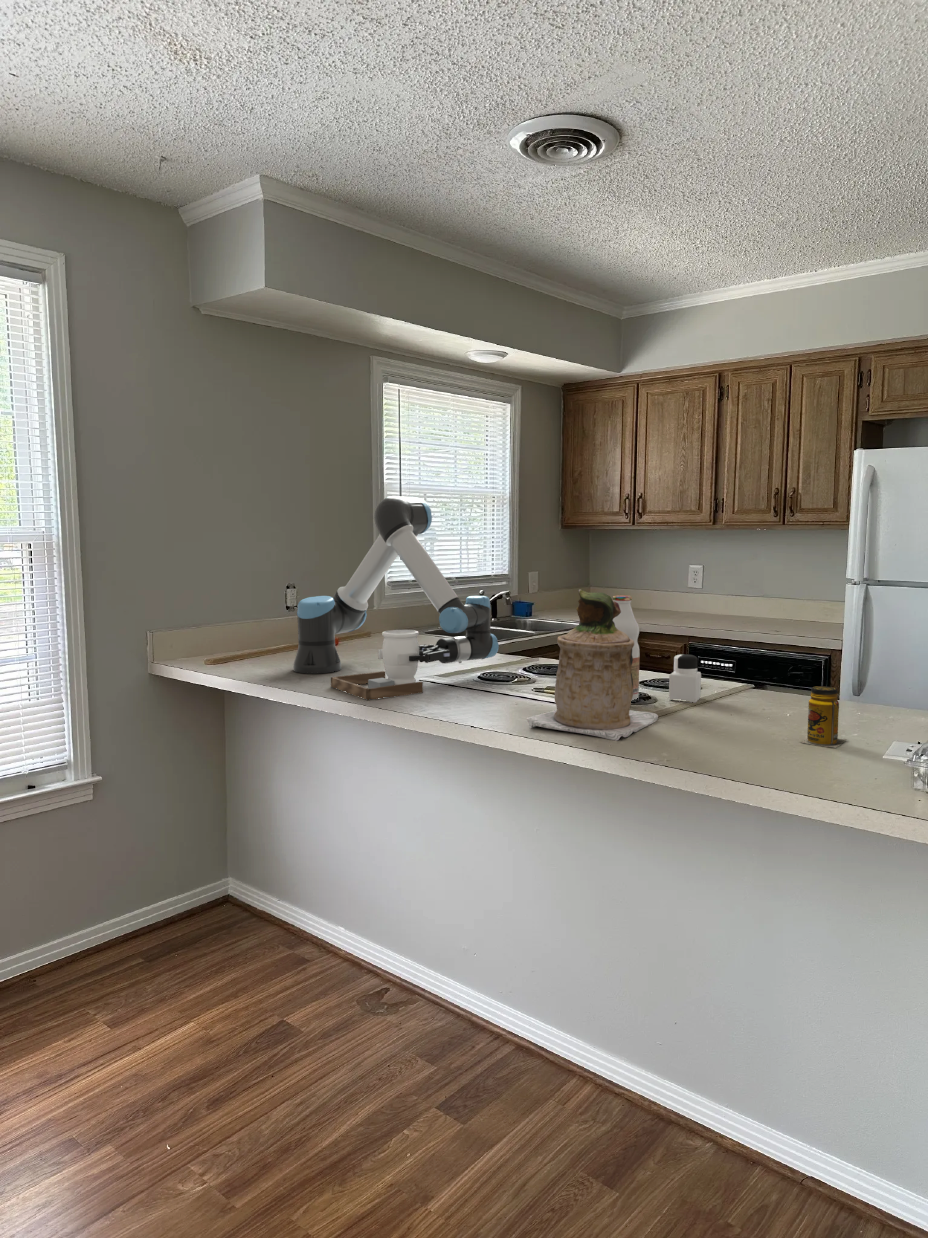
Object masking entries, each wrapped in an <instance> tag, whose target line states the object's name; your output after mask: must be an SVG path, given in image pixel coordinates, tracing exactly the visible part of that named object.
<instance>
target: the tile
mask: <svg viewBox="0 0 928 1238" xmlns="http://www.w3.org/2000/svg"><path fill="white" fill-rule="evenodd" d="M391 685H395V682H394V680H390V679H388V678H386V677H385V678H377V679H370V680H368V684H367V686H368V687H367V688H376V687H384V686H391Z"/></svg>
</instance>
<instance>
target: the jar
mask: <svg viewBox="0 0 928 1238" xmlns="http://www.w3.org/2000/svg"><path fill="white" fill-rule="evenodd" d="M419 634H420V633H419V631H418V630H414V629H391V630H390V629H389V630H385V631H382V633H381V635H382V637H383V641H382V648H381V649H382V656H383V659H382V662H383V666H384V668H383V669H384V671H385V675H386V676H387V679H390V680H394V682H395V685H399V684H407V683H414V682H417V680H416V678H415V676H416V673H417V672H418V666H419V665H418V663H419V661H418V662H415V663H407V664H397V655H398V654H407V653H416V652H417V653H418V655H419V641H418V636H419Z"/></svg>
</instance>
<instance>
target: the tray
mask: <svg viewBox="0 0 928 1238" xmlns="http://www.w3.org/2000/svg"><path fill="white" fill-rule="evenodd" d="M377 678H386V672H385V670H382V671H380V670H379V671H373V672H372V671H371V672H364V673H356V674H346V675H339V676H330V688H331V687H333V688H332V689H334V688H337V689H339V690H342V691H346V692H347V693H346V694H348V693H350V694H349V695H351V694H353V695H352V696H354V695H355V696H354V697H356V696H359V697H362V698H364V699H363V700H365V699H367V700H366V701H370V700H369V699H375V700H379V699H378V698H382V699H384V698H383V697H389V698H395V697H394V696H396V697H402V696H410V695H417V694H422V693H423V692H424V682H423V681H416V682H414V683H407V684H399V685H391V686H384V687H376V688H368V687H365V686H363V685H367V684H366V683H368V680H370V679H377ZM357 684H360V685H357ZM337 689H336V690H337ZM339 690H338V691H339ZM342 691H341V692H342ZM359 697H358V698H359ZM362 698H361V699H362Z"/></svg>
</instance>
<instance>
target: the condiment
mask: <svg viewBox="0 0 928 1238" xmlns="http://www.w3.org/2000/svg"><path fill="white" fill-rule="evenodd" d="M838 692H839V691H838V689H837V688H835V687H832V686H823V685H821V686H813V687H811V689H810V699H809V700H808V712H807V738H806V739H804V740H802V741H801V742H800V743H802V744H807V745H813V746H819V747H827V748H835V749H836V748H838V747H839V746H841V745H843V743H845V742H846V741H847V740H849V739H846V738H843V739H842V738H839V716H840V715H839V712H840V709H839V708H840V702H839V700H838Z"/></svg>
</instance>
